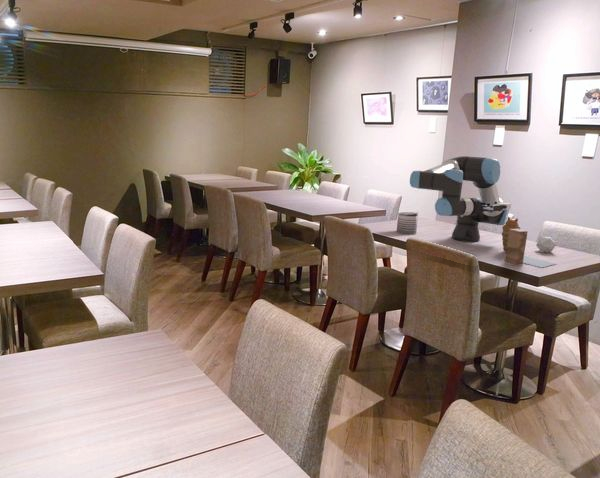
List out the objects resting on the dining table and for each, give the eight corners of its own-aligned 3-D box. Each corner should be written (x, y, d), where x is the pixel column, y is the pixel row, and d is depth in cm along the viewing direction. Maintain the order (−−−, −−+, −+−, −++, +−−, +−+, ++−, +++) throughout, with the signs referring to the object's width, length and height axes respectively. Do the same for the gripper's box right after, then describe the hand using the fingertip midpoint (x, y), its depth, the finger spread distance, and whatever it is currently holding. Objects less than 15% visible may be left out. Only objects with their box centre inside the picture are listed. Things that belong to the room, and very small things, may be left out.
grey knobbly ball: (552, 256, 261) (561, 240, 262) (538, 246, 261) (547, 231, 262) (544, 257, 269) (553, 242, 270) (530, 248, 269) (539, 233, 271)
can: (407, 235, 289) (409, 214, 286) (392, 231, 297) (394, 211, 295) (420, 233, 296) (422, 213, 294) (404, 230, 305) (406, 210, 302)
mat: (505, 258, 246) (505, 258, 246) (520, 255, 255) (520, 254, 255) (541, 268, 233) (542, 267, 233) (556, 264, 241) (556, 263, 241)
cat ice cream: (519, 253, 260) (524, 218, 256) (512, 255, 255) (517, 219, 251) (502, 249, 266) (507, 215, 262) (495, 251, 261) (500, 216, 257)
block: (514, 265, 234) (519, 231, 231) (504, 262, 240) (509, 228, 236) (522, 265, 236) (527, 231, 233) (512, 261, 242) (517, 228, 238)
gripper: (456, 212, 226) (497, 212, 235) (477, 218, 214) (519, 217, 224) (459, 196, 224) (499, 196, 234) (480, 200, 213) (522, 200, 222)
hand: (509, 206), depth 229 cm, fingers closed
